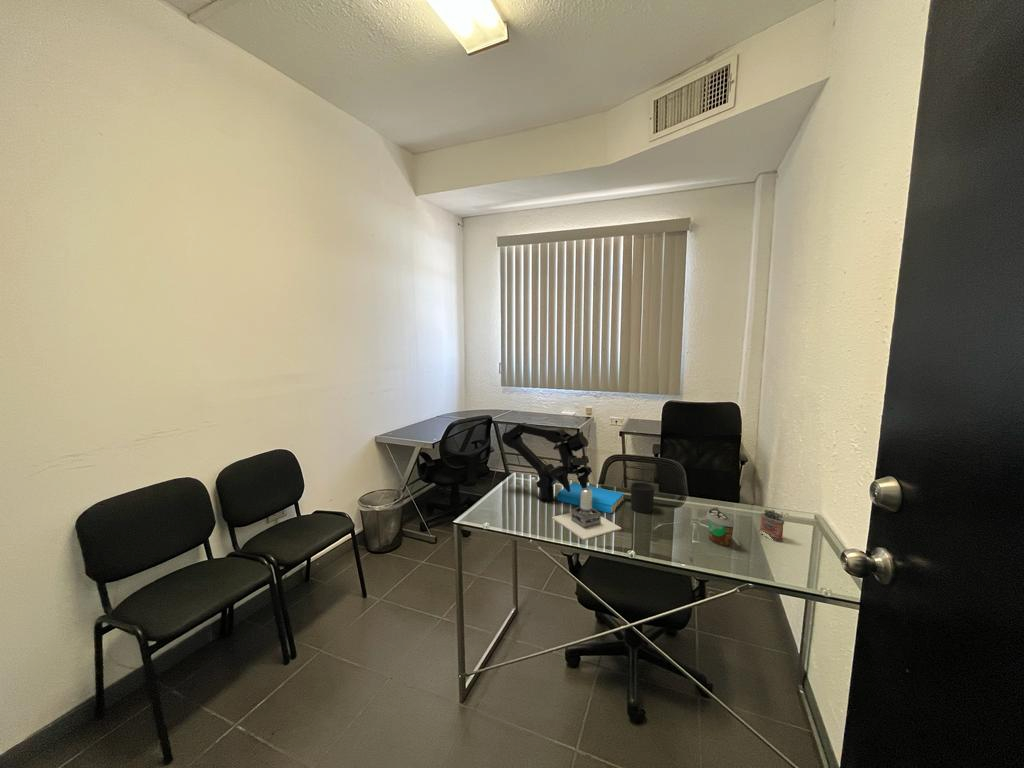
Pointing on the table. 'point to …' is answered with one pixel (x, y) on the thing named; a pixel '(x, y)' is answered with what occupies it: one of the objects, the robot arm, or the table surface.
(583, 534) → the tile
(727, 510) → the table surface
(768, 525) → the lighter
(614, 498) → the book
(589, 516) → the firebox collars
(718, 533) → the food container
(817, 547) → the table surface
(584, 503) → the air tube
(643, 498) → the pen holder
